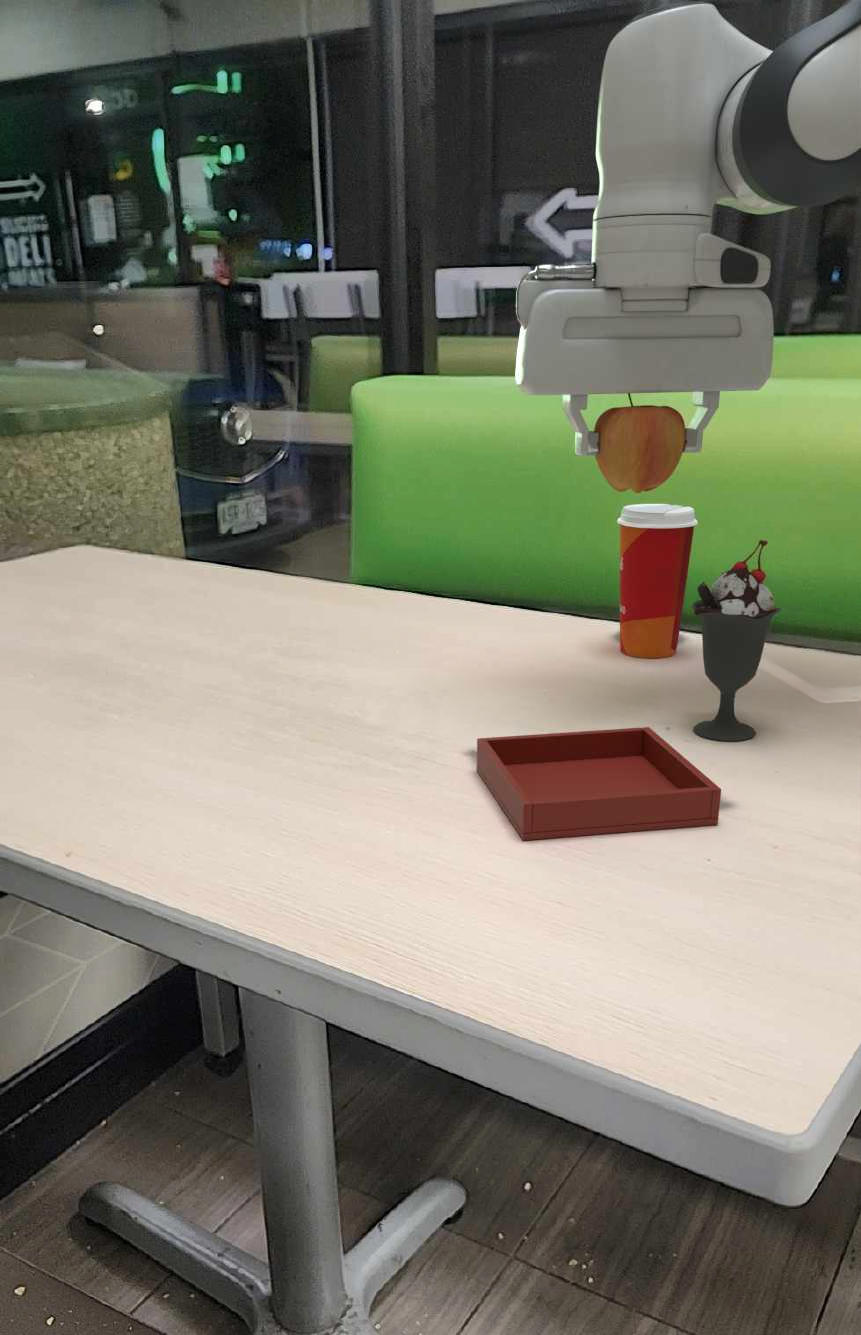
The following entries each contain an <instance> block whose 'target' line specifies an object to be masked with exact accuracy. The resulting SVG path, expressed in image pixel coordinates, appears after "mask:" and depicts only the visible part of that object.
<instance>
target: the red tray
mask: <svg viewBox="0 0 861 1335" xmlns="http://www.w3.org/2000/svg"><path fill="white" fill-rule="evenodd" d="M476 772H477V773H478V774H479V776H480V777H481V779H482V781H483V782H484V784H485V785H486V787H487V788H488V790H489V791H490V792H491V794H492V796H493V797H494V798H495V800H496V802H497V804H498V805H499V806H500V808H501V809H502V811H503V812H504V814H505V816H506V817H507V819H508V820H509V822H510V823H511V824H512V826H513V827H514V830H516V832H517V834H518V835H519V836H520V838H521V840H522V841H532V840H534V841H535V840H545V839H555V838H556V839H558V838H570V837H580V836H582V837H583V836H591V835H592V836H594V835H607V834H617V833H618V834H619V833H630V832H631V833H632V832H643V831H654V830H665V829H668V830H669V829H679V828H691V827H703V826H714V825H718V824H719V816H720V806H721V805H720V804H721V797H722V796H721V795H722V788H721V787H719V786H718V785H717V784H716V783H715V782H713V781H712V780H711V779H710V778H709V777H708V776H706V774H704V773H703V772H702V771H701V770H699V769H698V768H697V767H696V766H695V765H693V763H692V762H690V761H689V760H688V759H687V758H685V756H683V755H682V754H681V753H680V752H679V751H678V750H676V749H675V748H674V747H673V746H672V745H671V744H669V743H668V742H667V741H666V740H664V738H662V737H661V736H660V735H658V734H657V733H656V732H655V731H654V730H653V729H652V728H651V727H650V726H645V727H629V728H615V729H614V728H613V729H600V730H599V729H597V730H582V731H570V732H569V731H568V732H553V733H537V734H536V733H535V734H525V735H511V736H510V735H509V736H494V737H493V736H491V737H480V738H477V739H476Z"/></svg>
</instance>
